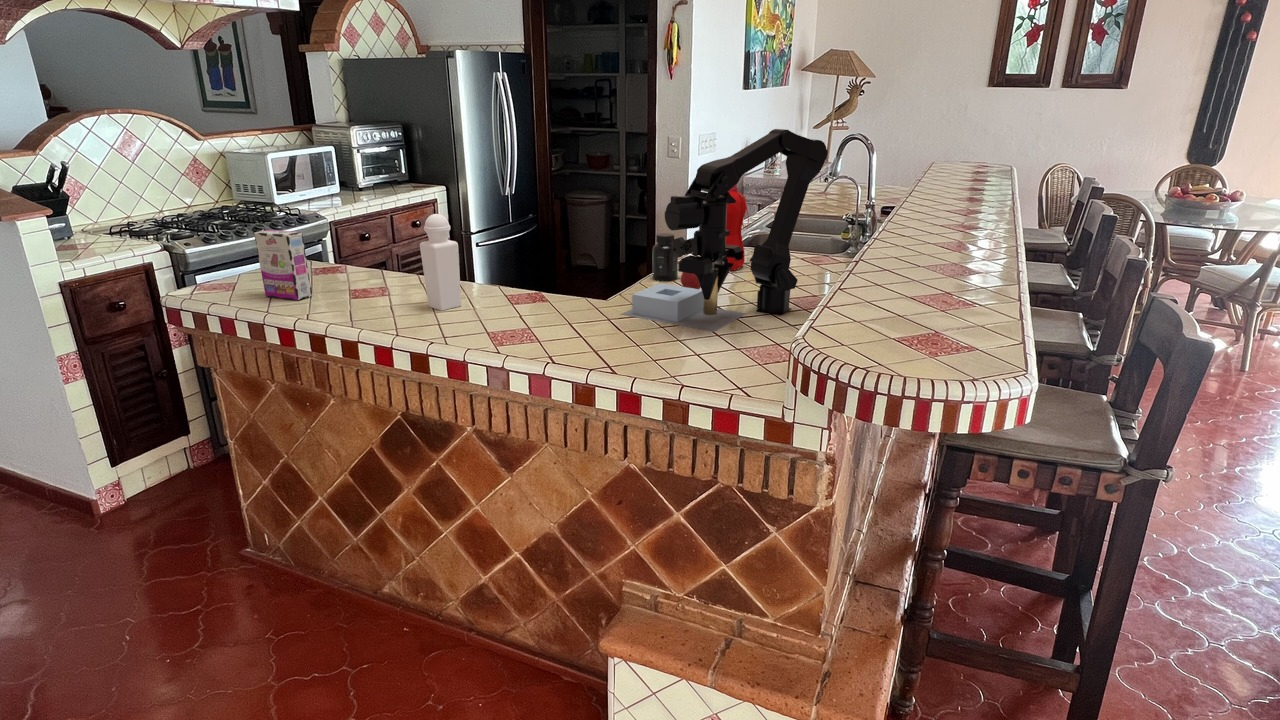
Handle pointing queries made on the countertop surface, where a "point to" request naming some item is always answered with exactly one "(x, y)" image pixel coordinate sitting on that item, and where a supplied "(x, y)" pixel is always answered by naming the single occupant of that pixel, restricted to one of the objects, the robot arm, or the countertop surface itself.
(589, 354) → the countertop surface
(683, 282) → the onion
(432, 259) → the square decanter bottle
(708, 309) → the brass pin
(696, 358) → the countertop surface
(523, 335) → the countertop surface
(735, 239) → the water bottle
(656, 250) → the supplement bottle
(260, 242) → the candy bar box
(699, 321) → the rubber mat
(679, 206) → the robot arm
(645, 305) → the socket block
